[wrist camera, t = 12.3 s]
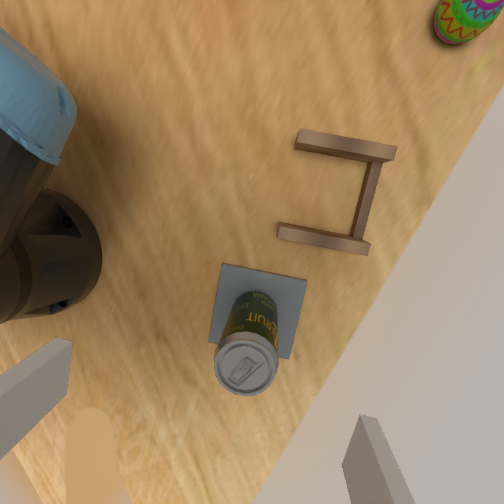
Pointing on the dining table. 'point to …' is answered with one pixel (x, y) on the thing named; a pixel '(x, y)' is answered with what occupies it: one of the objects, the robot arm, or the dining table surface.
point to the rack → (375, 158)
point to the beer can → (248, 345)
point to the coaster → (274, 285)
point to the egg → (464, 18)
